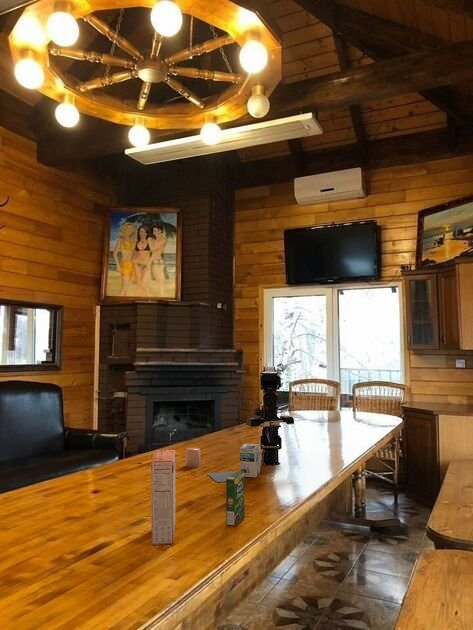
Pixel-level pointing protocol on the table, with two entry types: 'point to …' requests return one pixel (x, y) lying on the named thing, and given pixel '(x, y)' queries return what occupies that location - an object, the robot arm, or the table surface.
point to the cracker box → (163, 497)
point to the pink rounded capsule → (192, 457)
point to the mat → (220, 476)
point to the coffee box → (235, 499)
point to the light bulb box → (250, 460)
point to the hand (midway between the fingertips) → (270, 442)
